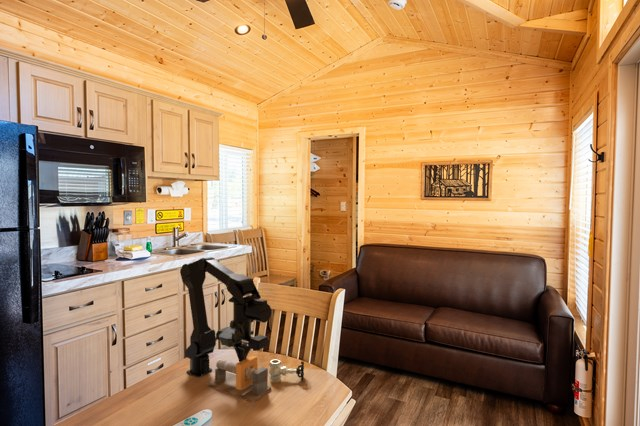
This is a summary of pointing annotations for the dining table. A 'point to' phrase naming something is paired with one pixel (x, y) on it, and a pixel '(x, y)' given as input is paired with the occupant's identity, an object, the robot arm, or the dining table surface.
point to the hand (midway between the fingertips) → (241, 363)
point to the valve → (283, 370)
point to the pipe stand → (228, 381)
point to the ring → (240, 372)
